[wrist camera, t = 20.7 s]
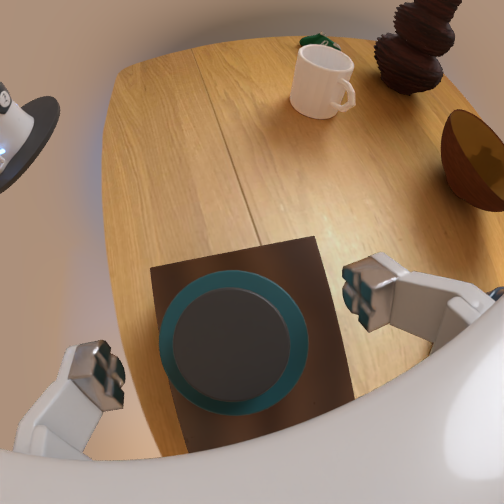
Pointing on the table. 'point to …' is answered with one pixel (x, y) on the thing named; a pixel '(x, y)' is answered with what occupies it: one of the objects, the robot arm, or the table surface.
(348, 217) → the table surface
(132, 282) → the table surface
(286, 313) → the bottle
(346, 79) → the mug
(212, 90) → the table surface
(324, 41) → the gaming controller
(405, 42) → the vase
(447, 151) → the bowl
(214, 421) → the wooden box
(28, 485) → the robot arm
